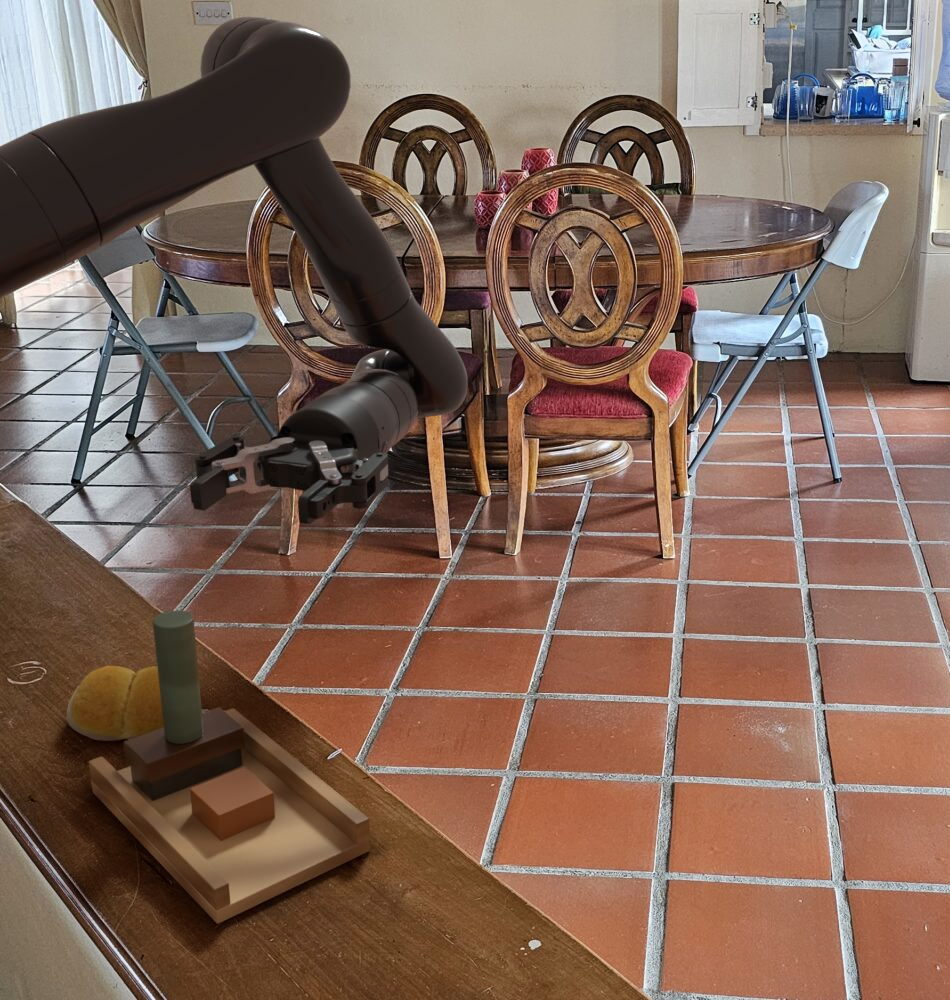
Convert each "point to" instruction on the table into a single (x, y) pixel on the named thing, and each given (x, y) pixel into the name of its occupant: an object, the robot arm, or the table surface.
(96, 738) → the bread roll
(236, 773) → the brown block
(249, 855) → the tray
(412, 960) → the table surface
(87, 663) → the table surface
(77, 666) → the table surface
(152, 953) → the table surface
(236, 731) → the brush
